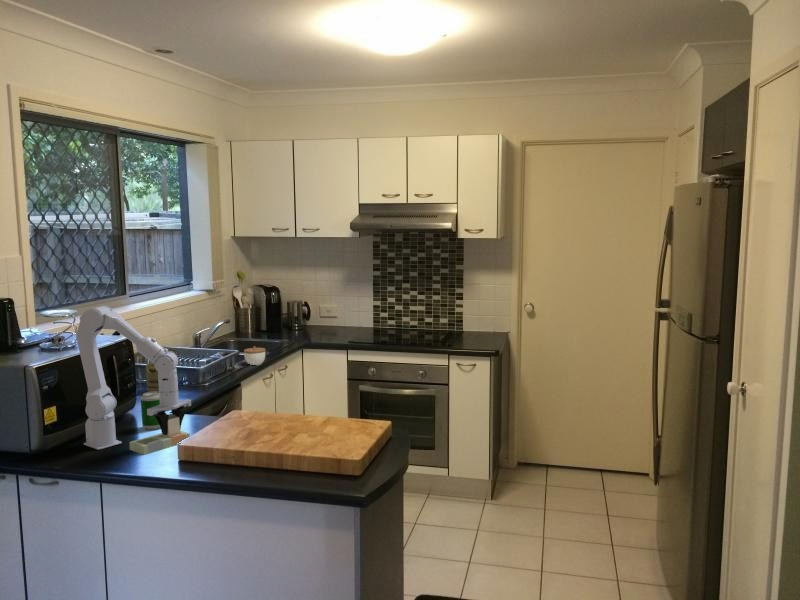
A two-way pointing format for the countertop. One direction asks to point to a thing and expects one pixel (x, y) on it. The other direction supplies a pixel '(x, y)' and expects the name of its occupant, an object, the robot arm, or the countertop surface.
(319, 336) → the countertop surface
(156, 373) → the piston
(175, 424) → the plug
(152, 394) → the soda can
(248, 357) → the lidded jar
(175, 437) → the socket block
